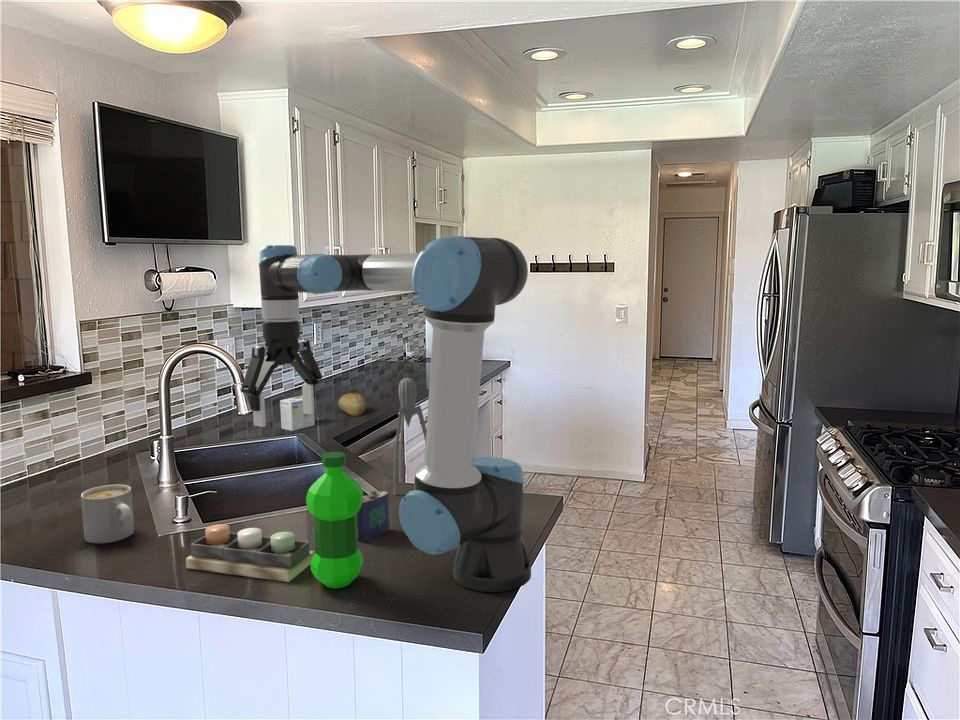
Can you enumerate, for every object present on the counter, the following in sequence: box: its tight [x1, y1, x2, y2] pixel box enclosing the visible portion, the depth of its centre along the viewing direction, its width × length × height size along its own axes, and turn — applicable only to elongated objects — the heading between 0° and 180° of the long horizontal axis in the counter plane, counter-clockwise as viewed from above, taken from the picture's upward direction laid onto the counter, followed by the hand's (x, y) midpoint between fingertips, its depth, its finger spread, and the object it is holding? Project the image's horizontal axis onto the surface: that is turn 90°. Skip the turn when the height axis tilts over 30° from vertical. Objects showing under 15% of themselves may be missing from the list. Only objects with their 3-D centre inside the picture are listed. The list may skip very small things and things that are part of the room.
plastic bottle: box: [305, 451, 364, 589], centre depth 132 cm, size 10×10×25 cm
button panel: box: [185, 532, 315, 583], centre depth 142 cm, size 23×10×4 cm, turn 74°
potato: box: [337, 392, 366, 417], centre depth 280 cm, size 10×15×8 cm, turn 34°
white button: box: [236, 527, 263, 549], centre depth 141 cm, size 5×5×2 cm
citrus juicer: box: [393, 377, 427, 496], centre depth 186 cm, size 11×10×30 cm
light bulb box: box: [279, 395, 316, 432], centre depth 257 cm, size 11×7×11 cm, turn 144°
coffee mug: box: [80, 484, 135, 544], centre depth 156 cm, size 13×10×10 cm
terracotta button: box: [204, 523, 231, 545], centre depth 143 cm, size 5×5×2 cm
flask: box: [357, 488, 390, 543], centre depth 156 cm, size 9×3×11 cm, turn 144°
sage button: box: [270, 531, 296, 553], centre depth 139 cm, size 5×5×2 cm
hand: (285, 419), depth 150 cm, fingers open, 13 cm apart
